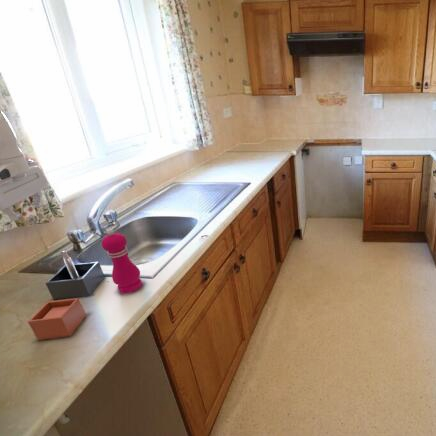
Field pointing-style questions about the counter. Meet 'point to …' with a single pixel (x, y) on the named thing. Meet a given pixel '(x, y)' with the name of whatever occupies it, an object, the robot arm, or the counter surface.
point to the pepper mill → (121, 263)
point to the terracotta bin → (57, 319)
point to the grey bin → (75, 281)
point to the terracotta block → (56, 312)
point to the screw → (70, 266)
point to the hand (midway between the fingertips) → (28, 213)
